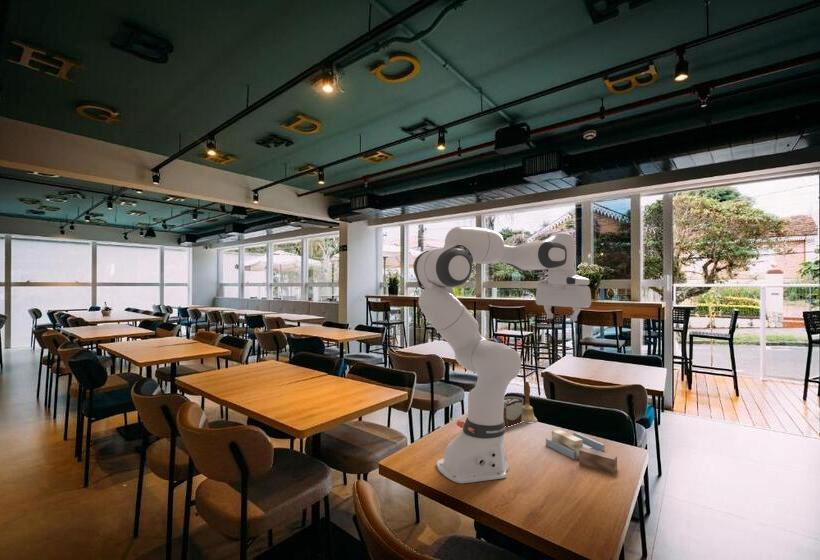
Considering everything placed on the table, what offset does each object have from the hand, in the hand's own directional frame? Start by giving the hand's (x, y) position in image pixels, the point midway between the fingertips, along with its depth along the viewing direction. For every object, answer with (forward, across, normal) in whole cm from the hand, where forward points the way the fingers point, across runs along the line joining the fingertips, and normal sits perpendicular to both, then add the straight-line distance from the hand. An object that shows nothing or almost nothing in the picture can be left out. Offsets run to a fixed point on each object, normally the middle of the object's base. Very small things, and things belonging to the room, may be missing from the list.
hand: (561, 319), depth 134 cm
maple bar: (+44, +2, 0) cm, 44 cm away
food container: (+45, -27, +3) cm, 53 cm away
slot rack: (+45, +3, +4) cm, 45 cm away
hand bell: (+45, -26, +13) cm, 54 cm away
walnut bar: (+45, +15, -2) cm, 47 cm away
